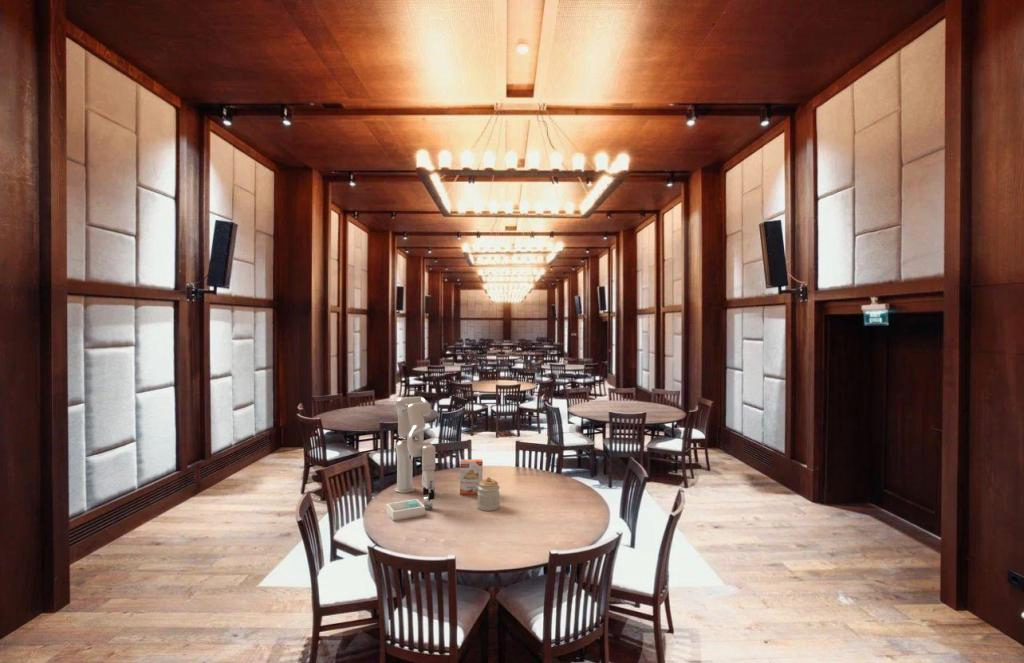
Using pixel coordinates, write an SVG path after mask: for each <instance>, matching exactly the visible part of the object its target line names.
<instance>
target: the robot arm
mask: <svg viewBox="0 0 1024 663" xmlns="http://www.w3.org/2000/svg"><path fill="white" fill-rule="evenodd" d="M395 411H396V413H397V424H398V425H397V432H398V436H399V438H400V439H402V440H400V441H397V443H396V444H395V452H396V471H397V472H396V487H394V492H396V493H400V494H402V493H404V494H405V493H411V492H414V491H415V489H416V488H415V486H414V485H413V460H412V459H411V457H412V458H416V457H417V458H418V457H421V470H422V472H421V485H422V495H423V496H428V495H429V500H432V499H433V500H435V496H436V495H435V493H436V478H435V477H436V476H435V471H436V446H435V445H433V444H432V443H431V442H429V441H428V442H425V440H424V437H425V436H424V432H425V431H424V429H425V427H426V423H425V419H424V417H428V416H430V415H431V413H432V407H431V404H430V403H429V401H428V400H426V398H424V397H423V396H404V397H400V398H397V399H396V401H395ZM410 456H411V457H410Z"/></svg>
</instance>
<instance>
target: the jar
mask: <svg viewBox="0 0 1024 663" xmlns="http://www.w3.org/2000/svg"><path fill="white" fill-rule="evenodd" d="M500 487H501V486H500V485H499V482H498V481H497V480H496V479H492V478H491V477H490V476H488V477H486V478H484V479H482V481H481V482H479V486H478V487H477V488H478V492H477V494H476V495H477V503H476V506H477V509H478V510H480V511H487V512H491V511H496V510H498V509H499V508H500V505H501V504H500V494H501V492H500V491H499V490H500V489H501V488H500Z"/></svg>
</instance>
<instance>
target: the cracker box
mask: <svg viewBox="0 0 1024 663" xmlns="http://www.w3.org/2000/svg"><path fill="white" fill-rule="evenodd" d="M459 464H460V465H459V467H460V468H459V474H460V475H459V495H466V496H468V495H478V494H477V492H478V488H477V487H478V486H479V482H481V481H482V480H483V465H484V464H483V459H482V458H481V459H480V458H479V459H460V460H459Z"/></svg>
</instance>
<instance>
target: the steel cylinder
mask: <svg viewBox="0 0 1024 663" xmlns="http://www.w3.org/2000/svg"><path fill="white" fill-rule="evenodd" d="M433 500H434V499H432V500H429V494H428V495H423V505H424V506H425V512H426V511H427V512H428V511H429V512H430V511H432V510H433V507H434V506H433V504H434V503H433Z"/></svg>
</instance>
